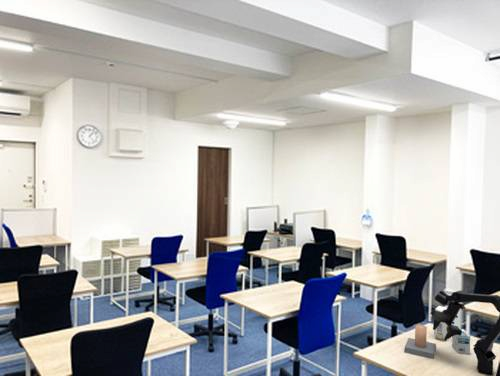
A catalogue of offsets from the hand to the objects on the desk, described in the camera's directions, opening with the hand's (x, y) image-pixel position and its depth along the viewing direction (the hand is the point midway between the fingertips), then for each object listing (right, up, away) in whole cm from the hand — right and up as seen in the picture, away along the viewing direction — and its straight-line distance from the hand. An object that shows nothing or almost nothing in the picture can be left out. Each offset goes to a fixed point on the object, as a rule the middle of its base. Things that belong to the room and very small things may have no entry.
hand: (439, 334), depth 216 cm
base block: (-8, -11, +6) cm, 15 cm away
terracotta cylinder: (-8, -8, +6) cm, 13 cm away
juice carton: (+13, -11, +24) cm, 30 cm away
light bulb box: (+16, -12, +8) cm, 22 cm away
